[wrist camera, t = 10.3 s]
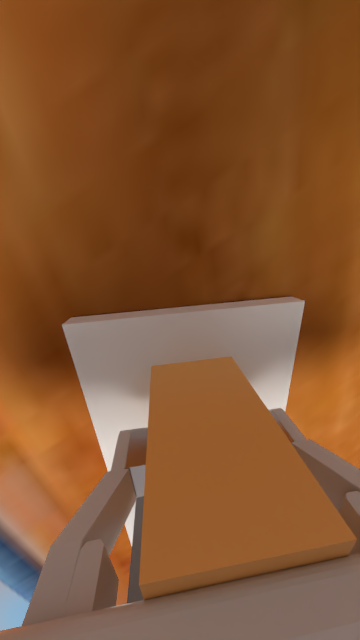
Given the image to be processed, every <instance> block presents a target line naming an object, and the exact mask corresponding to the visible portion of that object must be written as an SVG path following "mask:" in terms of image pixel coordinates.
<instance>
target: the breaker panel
mask: <svg viewBox="0 0 360 640" xmlns="http://www.w3.org/2000/svg"><path fill="white" fill-rule="evenodd" d="M304 304H305V301H304V300H301V299H298V298H295V297H292V296H291V297H281V298H270V299H260V300H249V301H239V302H228V303H218V304H207V305H197V306H186V307H175V308H165V309H154V310H144V311H133V312H123V313H112V314H102V315H91V316H81V317H71V318H70V319H68V320H67V321H66V322H65V323H63V324H62V327H63V331H64V334H65V337H66V340H67V343H68V346H69V350H70V353H71V356H72V359H73V362H74V365H75V369H76V372H77V375H78V378H79V381H80V384H81V388H82V391H83V394H84V397H85V400H86V403H87V407H88V410H89V413H90V416H91V419H92V422H93V425H94V429H95V432H96V435H97V438H98V441H99V444H100V448H101V451H102V454H103V457H104V460H105V463H106V467H107V470H108V472H109V471H111V467H112V462H113V458H114V453H115V448H116V444H117V439H118V435H119V433H120V431H123V430H130V429H138V428H147V427H148V416H149V398H150V381H151V366H155V365H164V364H172V363H180V362H189V361H197V360H206V359H214V358H223V357H231V356H232V358H233V359H234V361H235V362H236V364H237V365H238V367H239V368H240V370H241V371H242V372H243V374H244V375H245V377H246V378H247V380H248V381H249V383H250V384H251V386H252V387H253V388H254V390H255V391H256V393H257V394H258V396H259V397H260V399H261V400H262V402H263V403H264V404H265V406H266V407H267V409H269V410H270V409H276V408H281V409H283V410H284V412H285V410H286V404H287V399H288V393H289V387H290V382H291V376H292V371H293V365H294V360H295V354H296V348H297V343H298V337H299V332H300V326H301V321H302V315H303V310H304ZM136 499H137V500H136V502H135V504H134V506H133V508H132V510H131V512H130V514H129V516H128V518H127V520H126V522H125V527H126V530H127V533H128V536H129V539H130V542H131V546H132V553H131V565H130V576H129V588H128V599H127V603H132V602H136V601H141V600H144V599H143V596H142V593H141V590H140V587H139V575H140V557H141V540H142V522H143V504H144V496H142V497H137V498H136Z"/></svg>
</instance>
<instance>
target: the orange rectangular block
mask: <svg viewBox="0 0 360 640" xmlns="http://www.w3.org/2000/svg"><path fill="white" fill-rule="evenodd" d="M356 540H357V538H356V537H355V535H354V534H353V532H352V531H351V529H350V528H349V527H348V525H347V524H346V522H345V521H344V519H343V518H342V516H341V515H340V513H339V512H338V511H337V509H336V508H335V506H334V505H333V503H332V502H331V500H330V499H329V497H328V496H327V495H326V493H325V492H324V490H323V489H322V487H321V486H320V484H319V483H318V481H317V480H316V479H315V477H314V476H313V474H312V473H311V471H310V470H309V468H308V467H307V465H306V464H305V463H304V461H303V460H302V458H301V457H300V455H299V454H298V452H297V451H296V450H295V448H294V447H293V445H292V444H291V442H290V441H289V439H288V438H287V436H286V435H285V434H284V432H283V431H282V429H281V428H280V426H279V425H278V423H277V422H276V420H275V419H274V418H273V416H272V415H271V413H270V412H269V410H268V409H267V407H266V406H265V404H264V403H263V402H262V400H261V399H260V397H259V396H258V394H257V393H256V391H255V390H254V388H253V387H252V386H251V384H250V383H249V381H248V380H247V378H246V377H245V375H244V374H243V372H242V371H241V370H240V368H239V367H238V365H237V364H236V362H235V361H234V359H233V358H232V356H231V357H223V358H214V359H206V360H197V361H189V362H180V363H172V364H164V365H155V366H151V381H150V398H149V416H148V434H147V451H146V469H145V487H144V504H143V522H142V540H141V557H140V575H139V587H140V590H141V593H142V596H143V599H144V600H147V599H152V598H156V597H161V596H165V595H170V594H175V593H179V592H184V591H188V590H193V589H198V588H202V587H207V586H211V585H216V584H221V583H225V582H230V581H234V580H239V579H243V578H248V577H253V576H257V575H262V574H267V573H271V572H276V571H280V570H285V569H290V568H294V567H299V566H304V565H308V564H313V563H317V562H322V561H327V560H331V559H336V558H341V557H345V556H348V555H349V554H350V552H351V550H352V548H353V546H354V544H355V542H356Z"/></svg>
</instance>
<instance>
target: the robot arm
mask: <svg viewBox="0 0 360 640" xmlns="http://www.w3.org/2000/svg"><path fill="white" fill-rule="evenodd" d="M268 410H269V409H268ZM269 412H270V413H271V415H272V416H273V418H274V419H275V420H276V422H277V423H278V425H279V426H280V428H281V429H282V431H283V432H284V434H285V435H286V436H287V438H288V439H289V441H290V442H291V444H292V445H293V447H294V448H295V450H296V451H297V452H298V454H299V455H300V457H301V458H302V460H303V461H304V463H305V464H306V465H307V467H308V468H309V470H310V471H311V473H312V474H313V476H314V477H315V479H316V480H317V481H318V483H319V484H320V486H321V487H322V489H323V490H324V492H325V493H326V495H327V496H328V497H329V499H330V500H331V502H332V503H333V505H334V506H335V508H336V509H337V511H338V512H339V513H340V515H341V516H342V518H343V519H344V521H345V522H346V524H347V525H348V527H349V528H350V529H351V531H352V532H353V534H354V535H355V537H356V538H357V540H356V542H355V544H354V546H353V548H352V550H351V552H350V554H349V555H348V556H345V557H341V558H336V559H331V560H327V561H322V562H317V563H313V564H308V565H304V566H299V567H294V568H290V569H285V570H280V571H276V572H271V573H267V574H262V575H257V576H253V577H248V578H243V579H239V580H234V581H230V582H225V583H221V584H216V585H211V586H207V587H202V588H198V589H193V590H188V591H184V592H179V593H175V594H170V595H165V596H161V597H156V598H152V599H147V600H141V601H136V602H132V603H127V604H122V605H118V606H116V599H117V590H118V581H119V580H118V577H117V575H116V572H115V570H114V567H113V565H112V563H111V560H110V558H109V555H110V553H111V551H112V549H113V547H114V545H115V543H116V541H117V539H118V537H119V535H120V533H121V530H122V528H123V526H124V524H125V522H126V520H127V518H128V516H129V514H130V512H131V510H132V508H133V506H134V504H135V502H136V500H137V499H136V498H137V497H142V496H144V487H145V469H146V451H147V434H148V427H147V428H138V429H130V430H123V431H120V433H119V435H118V439H117V444H116V448H115V453H114V458H113V462H112V467H111V471H109V472H106V474H105V475H104V476H103V478H102V479H101V480H100V482H99V483H98V484H97V486H96V487H95V488H94V490H93V491H92V492H91V494H90V495H89V496H88V498H87V499H86V500H85V502H84V503H83V504H82V506H81V507H80V508H79V510H78V511H77V512H76V514H75V515H74V516H73V518H72V519H71V520H70V521H69V523H68V524H67V525H66V527H65V528H64V529H63V531H62V532H61V533H60V535H59V536H58V537H57V539H56V540H55V541H54V543H53V544H52V545H51V547H50V550H49V553H48V555H47V558H46V561H45V564H44V566H43V569H42V572H41V575H40V577H39V580H38V583H37V586H36V588H35V591H34V594H33V597H32V599H31V602H30V605H29V608H28V610H27V613H26V616H25V619H24V621H23V624H22V626H21V627H16V628H12V629H7V630H2V631H0V640H360V469H358V468H357V467H355V466H353V465H352V464H350V463H348V462H347V461H345V460H343V459H342V458H340V457H338V456H337V455H335V454H334V453H332V452H330V451H329V450H327V449H325V448H324V447H322V446H320V445H319V444H317V443H315V442H314V441H312V440H310V439H309V440H307V439H306V438H305V437H304V435H303V434H302V433H301V432H300V430H299V429H298V428H297V427H296V425H295V424H294V423H293V422H292V420H291V419H290V418H289V417H288V415H287V414H286V413H285V412H284V410H283V409H281V408H276V409H270V410H269Z"/></svg>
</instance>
